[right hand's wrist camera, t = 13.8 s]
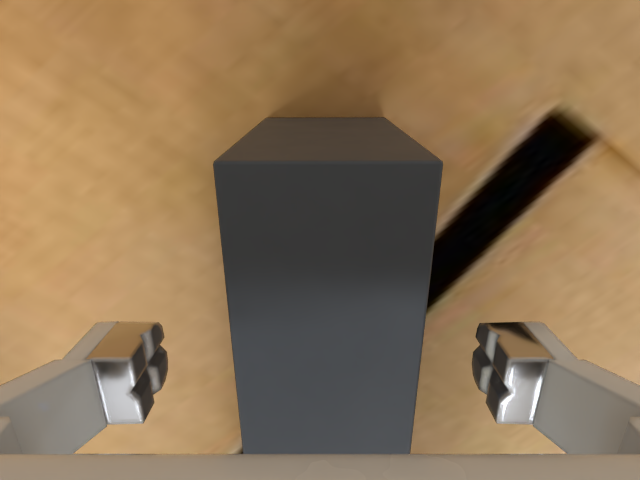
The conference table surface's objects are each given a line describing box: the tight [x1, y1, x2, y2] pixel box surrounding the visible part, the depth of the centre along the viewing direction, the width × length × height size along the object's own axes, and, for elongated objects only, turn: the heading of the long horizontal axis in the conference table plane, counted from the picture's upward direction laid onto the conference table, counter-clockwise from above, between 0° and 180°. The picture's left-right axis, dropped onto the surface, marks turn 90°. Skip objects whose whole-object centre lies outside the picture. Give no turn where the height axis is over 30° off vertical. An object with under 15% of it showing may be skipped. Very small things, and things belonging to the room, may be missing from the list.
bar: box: [213, 118, 443, 454], centre depth 17 cm, size 23×5×9 cm, turn 0°
